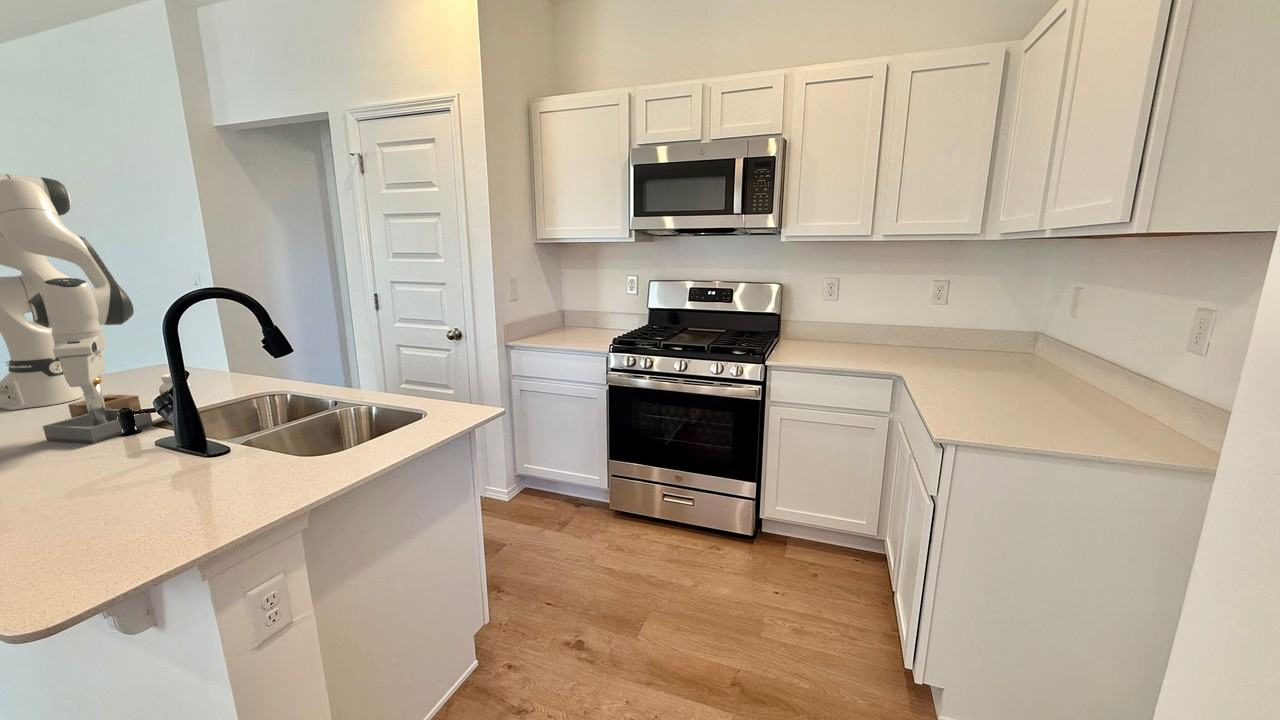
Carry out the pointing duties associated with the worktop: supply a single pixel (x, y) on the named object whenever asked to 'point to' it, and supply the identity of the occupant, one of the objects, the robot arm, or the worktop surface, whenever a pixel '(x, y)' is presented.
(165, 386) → the supplement bottle
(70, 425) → the tray
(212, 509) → the worktop surface
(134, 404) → the socket block
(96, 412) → the corked glass vial
